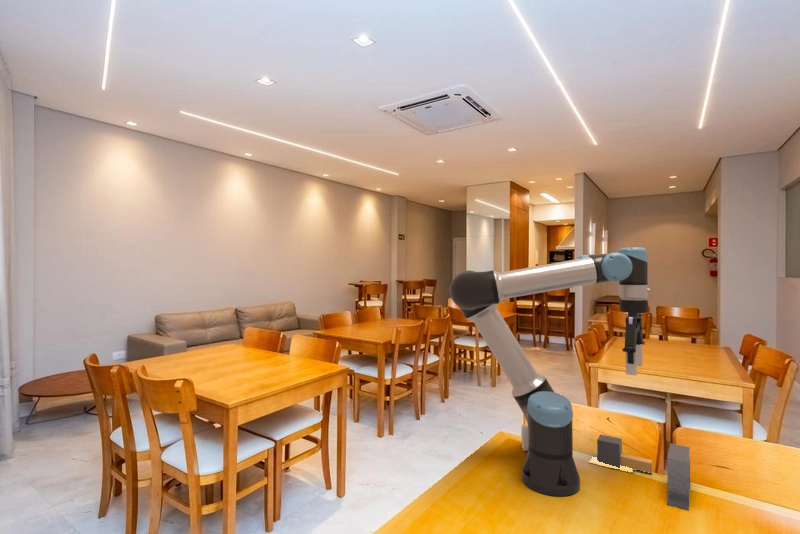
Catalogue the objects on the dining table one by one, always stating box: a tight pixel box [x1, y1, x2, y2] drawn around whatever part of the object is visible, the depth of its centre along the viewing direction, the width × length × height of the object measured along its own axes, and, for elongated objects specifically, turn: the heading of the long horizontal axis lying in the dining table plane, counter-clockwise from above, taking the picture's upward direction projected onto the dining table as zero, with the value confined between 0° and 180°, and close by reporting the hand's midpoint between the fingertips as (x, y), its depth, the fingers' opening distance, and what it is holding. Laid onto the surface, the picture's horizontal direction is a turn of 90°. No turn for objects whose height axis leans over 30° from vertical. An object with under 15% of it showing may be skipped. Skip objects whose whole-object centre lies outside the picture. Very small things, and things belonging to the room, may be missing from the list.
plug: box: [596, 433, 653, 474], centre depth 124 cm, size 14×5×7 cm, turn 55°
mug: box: [520, 424, 528, 452], centre depth 138 cm, size 12×10×8 cm
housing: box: [666, 442, 692, 511], centre depth 110 cm, size 4×17×10 cm, turn 144°
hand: (634, 370), depth 125 cm, fingers open, 13 cm apart
